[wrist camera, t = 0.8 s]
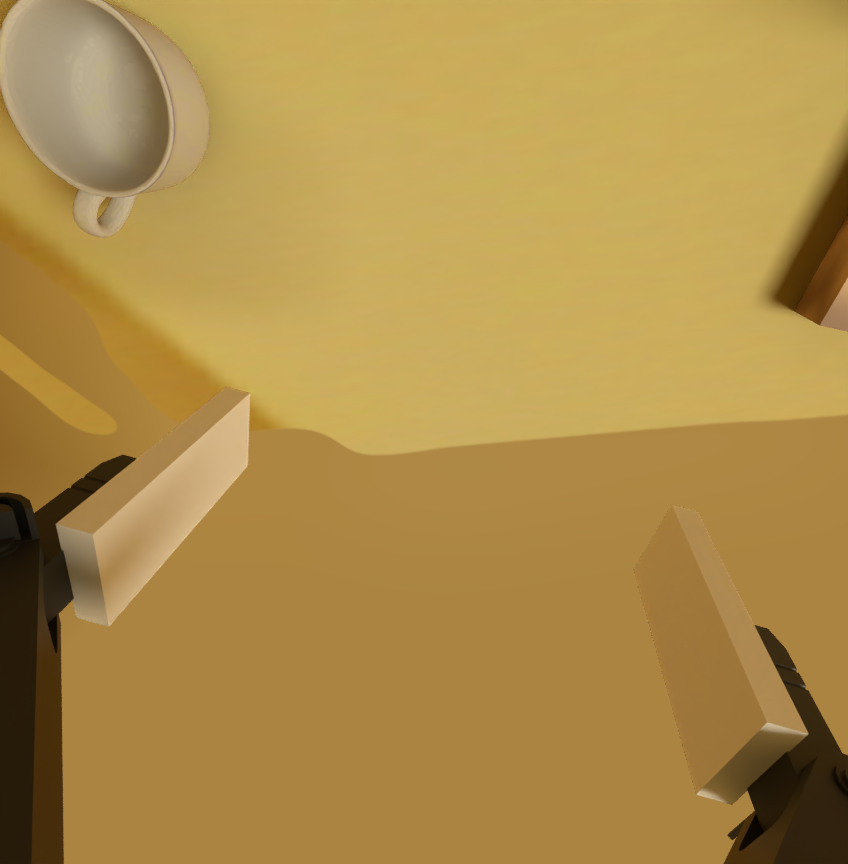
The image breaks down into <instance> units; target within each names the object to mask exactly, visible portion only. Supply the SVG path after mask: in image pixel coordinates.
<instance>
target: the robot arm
mask: <svg viewBox="0 0 848 864" xmlns="http://www.w3.org/2000/svg"><path fill="white" fill-rule="evenodd" d="M249 413H250V393H248V392H244V391H241V390H237V389H233V388H229V387H225V388H224V389H223V390H222V391H220V392H219V393H218V394H217V395H216V396H214V397H213V398H212V399H211V400H209V401H208V402H207V403H206V404H204V405H203V406H202V407H201V408H199V409H198V410H197V411H196V412H194V413H193V414H192V415H191V416H189V417H188V418H187V419H186V420H184V421H183V422H182V423H181V424H180V425H178V426H177V427H176V428H174V429H173V430H172V431H171V432H169V433H168V434H167V435H166V436H165V437H163V438H162V439H161V440H160V441H158V442H157V443H156V444H155V445H153V446H152V447H151V448H150V449H148V450H147V451H146V452H145V453H143V454H142V455H141V456H140V457H138V458H133V457H129V456H125V455H121V456H119V457H116V458H113V459H111V460H108V461H106V462H103V463H101V464H100V465H98V466H97V467H96V468H94V469H93V470H92V471H90V472H89V473H87V474H86V475H85V477H84V478H81V479H79V480H78V481H77V482H75V483H74V484H73V485H72V486H71V488H67V489H66V490H65V491H63V492H62V493H61V494H59V495H58V496H57V497H55V498H54V499H53V500H51V501H50V502H49V503H47V504H46V505H45V506H43V507H42V508H41V509H39V510H38V511H37V512H35V513H34V512H33V509H32V506H31V503H30V500H28V499H27V498H25V497H23V496H22V495H18V494H12V493H0V864H64V854H63V853H64V852H63V778H62V776H63V774H62V697H61V696H62V694H61V622H60V618H59V613H60V612H61V611H62V610H63V609H64V608H65V607H66V606H67V605H68V603H70V602H71V600H73V605H74V609H75V614H76V617H77V618H80V619H84V620H88V621H91V622H94V623H98V624H101V625H105V626H110V625H111V623H112V622H113V621H114V620H115V619H116V618H117V617H118V615H119V614H120V613H121V612H122V611H123V610H124V608H125V607H126V606H127V605H128V604H129V603H130V602H131V600H132V599H133V598H134V597H135V596H136V595H137V593H138V592H139V591H140V590H141V589H142V588H143V587H144V585H145V584H146V583H147V582H148V581H149V579H150V578H151V577H152V576H153V575H154V574H155V573H156V571H157V570H158V569H159V568H160V567H161V566H162V564H163V563H164V562H165V561H166V560H167V559H168V557H169V556H170V555H171V554H172V553H173V552H174V550H175V549H176V548H177V547H178V546H179V545H180V544H181V542H182V541H183V540H184V539H185V538H186V537H187V536H188V534H189V533H190V532H191V531H192V530H193V529H194V527H195V526H196V525H197V524H198V523H199V522H200V520H201V519H202V518H203V517H204V516H205V515H206V513H207V512H208V511H209V510H210V509H211V508H212V507H213V505H214V504H215V503H216V502H217V501H218V500H219V498H220V497H221V496H222V495H223V494H224V493H225V491H226V490H227V489H228V488H229V487H230V486H231V484H232V483H233V482H234V481H235V480H236V478H238V476H239V475H240V474H241V473H242V472H243V471H244V469H245V468H246V467H247V466H248V444H249V440H248V439H249ZM634 573H635V577H636V580H637V584H638V588H639V591H640V595H641V598H642V602H643V606H644V609H645V613H646V616H647V620H648V624H649V627H650V630H651V634H652V638H653V641H654V645H655V648H656V652H657V656H658V659H659V663H660V667H661V670H662V674H663V677H664V681H665V685H666V688H667V692H668V695H669V699H670V703H671V706H672V710H673V713H674V717H675V721H676V724H677V728H678V731H679V735H680V739H681V742H682V746H683V749H684V753H685V756H686V760H687V764H688V767H689V771H690V775H691V778H692V782H693V785H694V789H695V792H696V795H700V796H703V797H707V798H710V799H714V800H717V801H721V802H724V803H728V804H731V805H732V804H733V803H734V802H736V801H737V800H738V799H739V798H740V797H741V796H742V795H743V794H744V793H745V792H746V791H747V790H748V793H749V795H750V798H751V801H752V804H753V806H754V809H755V811H754V812H753V813H752V814H750V815H749V816H748V817H747V818H746V819H745V820H744V821H743V822H741V823H740V824H739V825H738V826H737V827H736V828H734V829H733V830H732V831H731V832H730V833H729V834H728V836H729V837H730V838H731V839H732V840H733V839H735V838H736V837H737V838H736V840H735V842H734V844H733V846H732V848H731V850H730V852H729V854H728V856H727V858H726V860H725V862H724V864H848V755H845V754H843V753H842V752H841V750H840V748H839V746H838V745H837V743H836V741H835V739H834V737H833V735H832V733H831V732H830V730H829V728H828V726H827V724H826V722H825V720H824V719H823V717H822V715H821V713H820V711H819V709H818V707H817V706H816V704H815V702H814V700H813V698H812V697H811V694H810V693H809V691H808V690H806V689H805V687H806V685H805V683H804V682H803V680H802V678H801V676H800V674H799V673H797V672H796V670H797V669H796V667H795V665H794V663H793V661H792V659H791V658H790V656H789V654H788V652H787V650H786V648H785V647H784V646H783V645H782V644H781V643H780V642H779V641H778V640H777V639H776V637H775V636H774V635H773V634H772V633H771V632H770V631H769V629H767V628H763V627H760V626H756V625H754V624H753V622H752V620H751V618H750V616H749V614H748V612H747V610H746V608H745V606H744V604H743V602H742V600H741V598H740V596H739V594H738V592H737V590H736V588H735V586H734V584H733V582H732V580H731V578H730V576H729V574H728V572H727V570H726V568H725V566H724V564H723V562H722V560H721V558H720V556H719V554H718V552H717V550H716V548H715V546H714V544H713V542H712V540H711V538H710V536H709V534H708V532H707V530H706V528H705V526H704V524H703V522H702V520H701V518H700V516H699V514H698V512H697V511H695V510H691V509H688V508H684V507H680V506H676V505H671V507H670V508H669V510H668V511H667V513H666V515H665V517H664V518H663V520H662V522H661V524H660V525H659V527H658V529H657V530H656V532H655V534H654V536H653V537H652V539H651V541H650V542H649V544H648V546H647V547H646V549H645V551H644V553H643V554H642V556H641V558H640V559H639V561H638V563H637V565H636V566H635V568H634Z"/></svg>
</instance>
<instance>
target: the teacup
mask: <svg viewBox="0 0 848 864" xmlns="http://www.w3.org/2000/svg"><path fill="white" fill-rule="evenodd" d="M0 89H1V93H2V96H3V99H4V102H5V106H6V109H7V111H8V113H9V116H10V117H11V119H12V121H13V123H14V125H15V127H16V129H17V131H18V132H19V134H20V136H21V137H22V139H23V140H24V142H25V143H26V145H27V146H28V147H29V149H30V150H31V151H32V152H33V153H34V154H35V156H36V157H37V158H38V159H39V160H40V161H41V162H42V163H43V164H44V165H45V166H46V167H47V168H49V169H50V170H51V171H52V172H54V173H55V174H56V175H57V176H59V177H60V178H61V179H63V180H65V181H66V182H68V183H69V184H71V185H72V186H74V187H76V188H78V192H77V194H76V196H75V199H74V202H73V216H74V220H75V222H76V223H77V225H78V226H79V227H80V228H81V229H82V230H83V231H85V232H86V233H88V234H90V235H93V236H97V237H102V238H105V237H110V236H112V235H114V234H115V233H117V232H118V231H119V230H120V229H121V228H122V226H123V225H124V223H125V222H126V220H127V218H128V216H129V214H130V212H131V210H132V207H133V205H134V202H135V200H136V197H137V196H138V195H139V194H140V193H146V192H153V191H158V190H163V189H166V188H169V187H172V186H175V185H177V184H179V183H181V182H182V181H184V180H185V179H186V178H188V177H189V176H190V175H191V174H192V173H193V172H194V171H195V170H196V168H197V167H198V166H199V164H200V163H201V161H202V159H203V157H204V154H205V152H206V149H207V145H208V140H209V134H210V118H209V110H208V105H207V100H206V96H205V93H204V90H203V87H202V85H201V83H200V80H199V78H198V76H197V74H196V72H195V70H194V68H193V67H192V65H191V63H190V62H189V61H188V59H187V58H186V56H185V55H184V54H183V52H182V51H181V50H180V49H179V48H178V46H177V45H176V44H175V43H174V42H173V41H172V40H171V39H170V38H169V37H167V36H166V35H165V34H164V33H163V32H162V31H160V30H159V29H158V28H156V27H155V26H154V25H152V24H150V23H149V22H147V21H145V20H144V19H142V18H140V17H138V16H136V15H134V14H132V13H130V12H128V11H126V10H123V9H121V8H119V7H116V6H114V5H111V4H109V3H107V2H105V1H104V0H18V1H17V2H16V3H15V4H14V5H13V6H12V7H11V9H10V10H9V12H8V14H7V16H6V17H5V19H4V21H3V24H2V27H1V29H0ZM107 197H110V198H111V200H110V202H109V204H108V206H107V208H106V210H105V211H104V212H103V214H102V215H101V216H100V217H99V218H98V219H97V214H98V209H99V206H100V205H101V203H102V202H103V201H104V200H105V199H106V198H107Z"/></svg>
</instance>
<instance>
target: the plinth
mask: <svg viewBox="0 0 848 864" xmlns="http://www.w3.org/2000/svg"><path fill="white" fill-rule="evenodd" d="M795 312H797V313H798V314H800V315H802V316H804V317H806V318H807V319H809V320H811V321H813V322H815V323H816V324H818V325H820V326H825V327H830V328H834V329H839V330H844V331H848V215H847V217H846V219H845V220H844V222H843V224H842V226H841V228H840V229H839V231H838V233H837V235H836V237H835V238H834V240H833V242H832V244H831V246H830V248H829V249H828V251H827V253H826V255H825V257H824V258H823V260H822V262H821V264H820V266H819V267H818V269H817V271H816V273H815V275H814V276H813V278H812V280H811V282H810V284H809V286H808V287H807V289H806V291H805V293H804V295H803V296H802V298H801V300H800V302H799V304H798V305H797V307H796V309H795Z"/></svg>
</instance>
